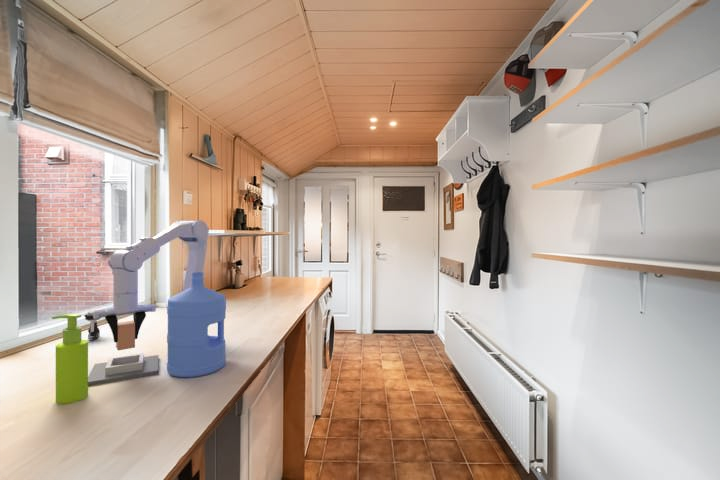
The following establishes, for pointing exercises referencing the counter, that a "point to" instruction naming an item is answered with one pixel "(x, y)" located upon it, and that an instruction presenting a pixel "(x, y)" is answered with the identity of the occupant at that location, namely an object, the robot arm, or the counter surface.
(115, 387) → the counter surface
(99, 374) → the mounting socket
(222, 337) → the water jug
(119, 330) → the wooden peg
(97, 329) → the caster wheel
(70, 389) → the soap dispenser
